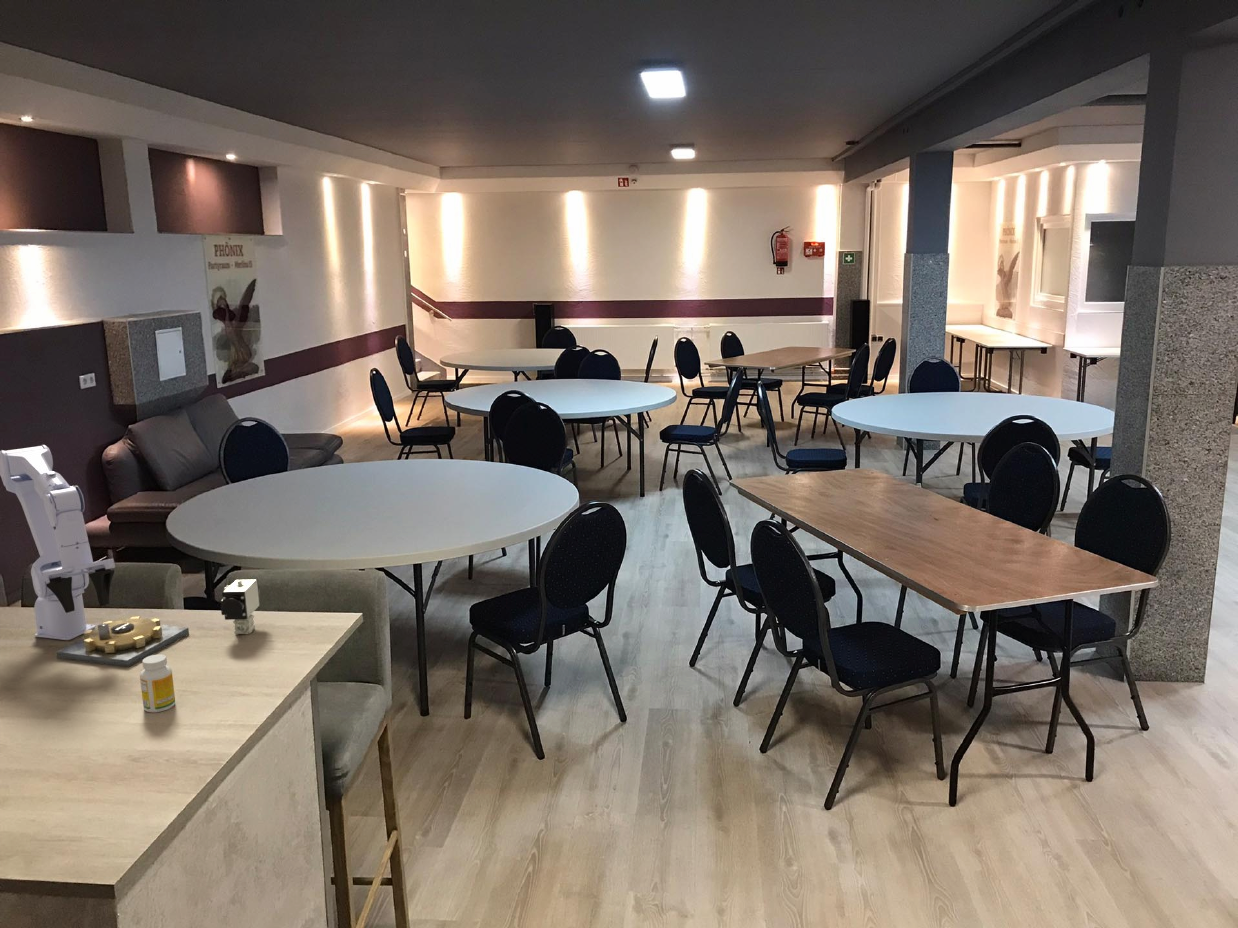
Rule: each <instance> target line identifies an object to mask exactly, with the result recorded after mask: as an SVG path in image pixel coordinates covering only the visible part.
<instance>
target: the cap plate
mask: <svg viewBox="0 0 1238 928" xmlns="http://www.w3.org/2000/svg"><path fill="white" fill-rule="evenodd" d="M160 626H161V627H162V636H161V637H160V638H154V639H152V640H151V641H149V642H147V643H145V646H142V647H139V648H135V647H132V648H128V649H122V650H117V651H116V652H114V653H105V651H102V650H96V649H94V650H91V651H88V650H86V649H85V643H84V640H85V639H84V638H82V639H79V640H78V641H75V642H74V643H72V644H70V645H66V646H65V647H63V648H61V649H59V650H57V651H55V652H56V658H57V659H58V660H67V661H76V662H81V663H82V662H83V663H92V664H99V665H107V666H114V667H123V668H130V667H131V666H133V665H135V664H136V663H138V662H141V661H143V659H144V658H146V657H148V656H151V655H154V654H155V653H157V652H159V651H160V650H163V649H164V648H166V647H167V646H169V645H172V644H173V643H174V644H175V642H177V641H179V640H181V639H182V638H184V637H186V636H188V635H190V632H189V631H190V630H189V627H185V626H176V625H168V624H167V625H166V624H160Z"/></svg>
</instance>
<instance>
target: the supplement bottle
mask: <svg viewBox="0 0 1238 928" xmlns="http://www.w3.org/2000/svg"><path fill="white" fill-rule="evenodd" d="M141 661H142V668H143V669H142V670H141V672H140V673H139V679H140V688H141V689H140V690H141V697H142V706H143V709H144V711H146V712H147V713H160V712H164V711H168V710H170V709H172V708H173V707H174V706H175V704H176V696H175V685H174V680H173V679H174V678H173V670H172V668H171V666H170V665H167V663H168V659H167V656H166V654H158V653H157V654H152V655H150V656H148V657H146V658H144V659H142V660H141Z"/></svg>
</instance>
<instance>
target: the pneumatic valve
mask: <svg viewBox="0 0 1238 928" xmlns="http://www.w3.org/2000/svg"><path fill="white" fill-rule="evenodd" d="M260 587H261V586H260V585H259V579H258V578H236V579H235V580H234V582H232V583H231V584H230V585H228V584H227V585H226V586H225V587H224V588H223V592H222V593H221V594H222V595H221V596H222V599H221V600H220V602H219V603H220V605H219V606H220V613H221V616H224V620H225V621H226V620H227V621H229V620H233V624H234V634H235V635H237V636H239V634H240V635H241V634H242V635H245V634H246V635H250V634H251V633H252V632H253V631H254V629H255V628H256V626H255V625H254V623H255V622H254V617H255V616H254V614H253V613H254V611H256V610H257V609H258V607H259V606H261V600H260V593H261V588H260Z"/></svg>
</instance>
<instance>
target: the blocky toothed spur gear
mask: <svg viewBox="0 0 1238 928" xmlns="http://www.w3.org/2000/svg"><path fill="white" fill-rule="evenodd" d="M160 625H161V620H160V619H159V618H156V617H155V618H151V619H149V618H142V617H141V616H132V617H131V616H130V618H126V619H121V620H119V619H118V620H115V621H112V620H108V621H105V622H102V623H100V624H98V625H97V626H96V628H94V629H92V630H87V631H86V632H85V633H83V639H85V640H84V643H85V649H86V650H88V651H91V650H94V649H96V650H102V651H105V653H114V652H116V651H117V650H122V649H128V648H132V647H135V648H139V647H142V646H145V643H147V642H149V641H151V640H152V639H154V638H160V637H161V636H162V627H161V626H160Z"/></svg>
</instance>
